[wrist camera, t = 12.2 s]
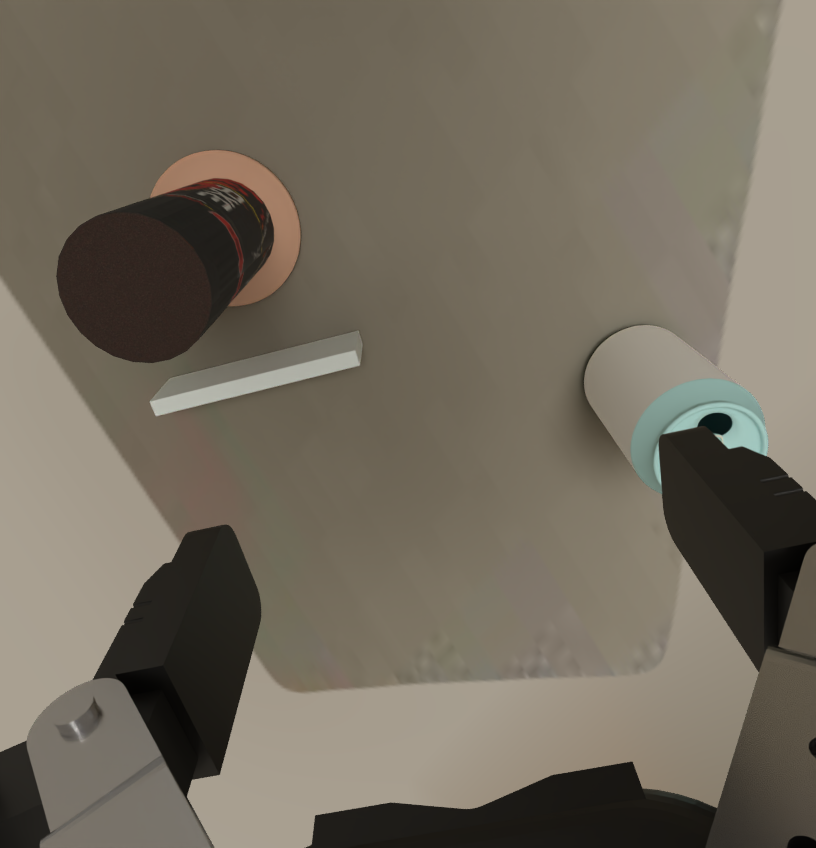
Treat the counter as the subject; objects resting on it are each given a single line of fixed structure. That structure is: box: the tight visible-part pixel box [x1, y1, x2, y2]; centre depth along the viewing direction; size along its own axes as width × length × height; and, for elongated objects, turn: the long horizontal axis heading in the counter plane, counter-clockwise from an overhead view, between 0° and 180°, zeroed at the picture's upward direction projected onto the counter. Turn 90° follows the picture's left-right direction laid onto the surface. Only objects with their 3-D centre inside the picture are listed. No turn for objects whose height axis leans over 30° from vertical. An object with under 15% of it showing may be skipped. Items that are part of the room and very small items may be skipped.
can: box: [584, 325, 768, 494], centre depth 39 cm, size 7×7×12 cm
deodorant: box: [56, 178, 274, 363], centre depth 33 cm, size 6×6×15 cm
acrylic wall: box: [150, 330, 363, 416], centre depth 42 cm, size 1×13×4 cm, turn 104°
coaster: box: [150, 150, 301, 306], centre depth 40 cm, size 9×9×1 cm
